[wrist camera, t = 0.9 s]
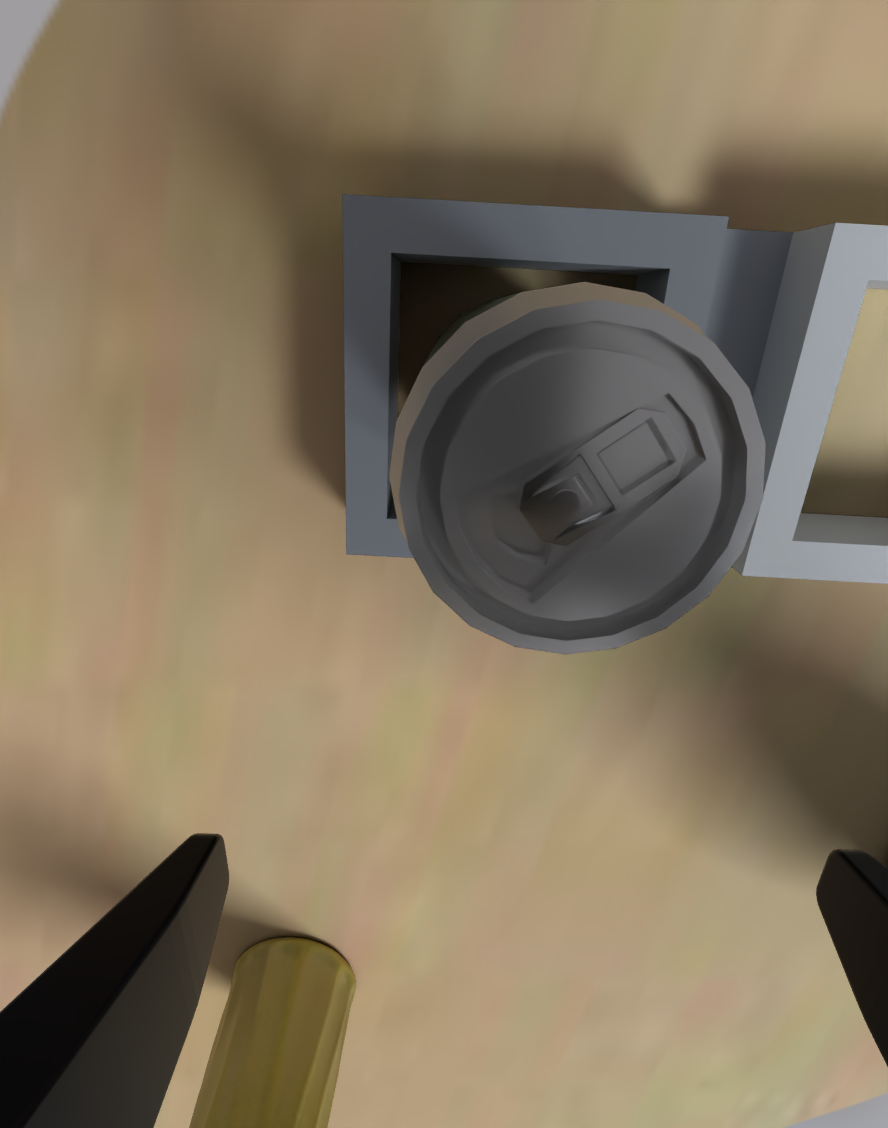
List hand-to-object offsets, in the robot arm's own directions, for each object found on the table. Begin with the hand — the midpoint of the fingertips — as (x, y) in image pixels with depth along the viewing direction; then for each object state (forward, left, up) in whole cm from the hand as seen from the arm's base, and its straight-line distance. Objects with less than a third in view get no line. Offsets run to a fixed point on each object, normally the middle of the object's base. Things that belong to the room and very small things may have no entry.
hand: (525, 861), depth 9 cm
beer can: (0, -5, -14) cm, 15 cm away
